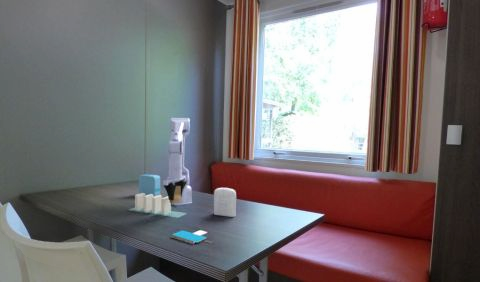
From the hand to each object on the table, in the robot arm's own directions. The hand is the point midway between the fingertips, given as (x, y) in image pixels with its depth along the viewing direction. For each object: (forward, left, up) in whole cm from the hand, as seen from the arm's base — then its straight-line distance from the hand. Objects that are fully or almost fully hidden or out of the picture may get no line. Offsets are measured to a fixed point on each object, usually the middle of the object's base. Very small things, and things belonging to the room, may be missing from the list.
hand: (175, 198), depth 132 cm
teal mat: (+5, -9, -8) cm, 12 cm away
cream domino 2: (+7, -13, -7) cm, 17 cm away
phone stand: (+5, +27, -8) cm, 29 cm away
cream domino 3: (+5, -9, -7) cm, 12 cm away
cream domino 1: (+10, -17, -7) cm, 21 cm away
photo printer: (-18, +13, -8) cm, 23 cm away
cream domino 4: (+2, -4, -7) cm, 9 cm away
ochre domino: (0, 0, -2) cm, 2 cm away
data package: (-3, -41, -8) cm, 42 cm away
